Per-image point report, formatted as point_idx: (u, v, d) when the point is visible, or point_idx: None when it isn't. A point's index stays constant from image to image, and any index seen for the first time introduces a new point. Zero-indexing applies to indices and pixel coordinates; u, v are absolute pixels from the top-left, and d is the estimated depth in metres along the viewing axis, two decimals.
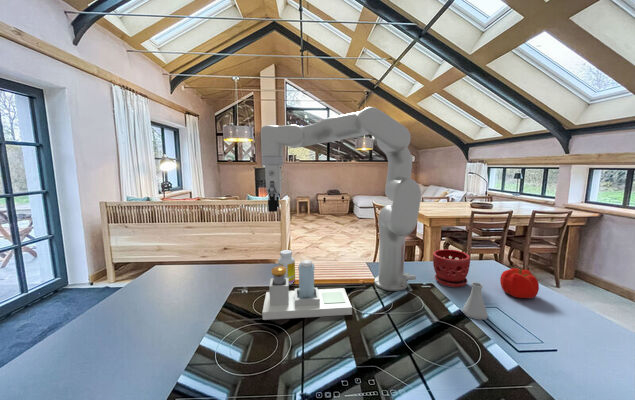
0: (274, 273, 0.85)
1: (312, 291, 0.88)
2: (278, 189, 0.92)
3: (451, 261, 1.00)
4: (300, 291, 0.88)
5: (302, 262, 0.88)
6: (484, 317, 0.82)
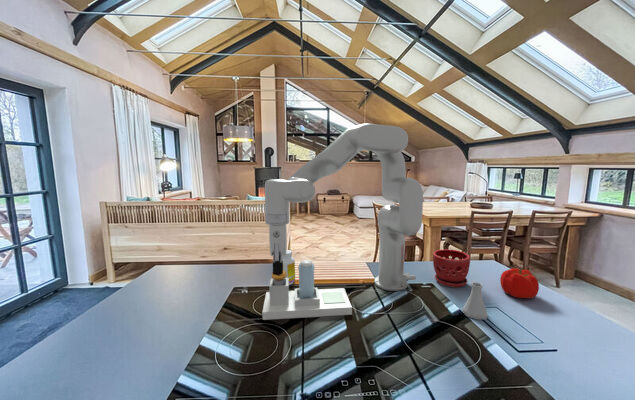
0: (274, 277, 0.85)
1: (312, 291, 0.88)
2: (283, 252, 0.81)
3: (451, 261, 1.00)
4: (300, 291, 0.88)
5: (302, 262, 0.88)
6: (484, 317, 0.82)
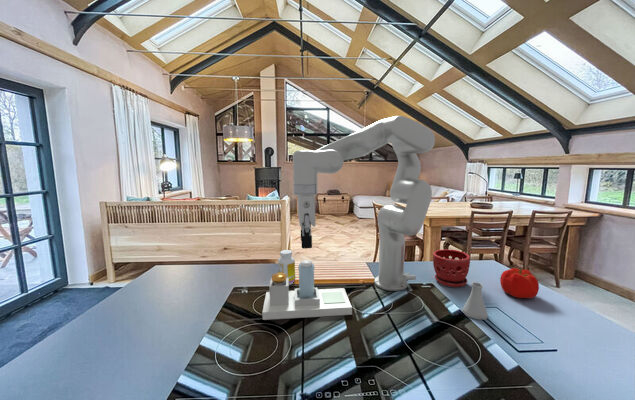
0: (274, 280, 0.86)
1: (312, 291, 0.88)
2: (313, 222, 0.81)
3: (451, 261, 1.00)
4: (300, 291, 0.88)
5: (302, 262, 0.88)
6: (484, 317, 0.82)
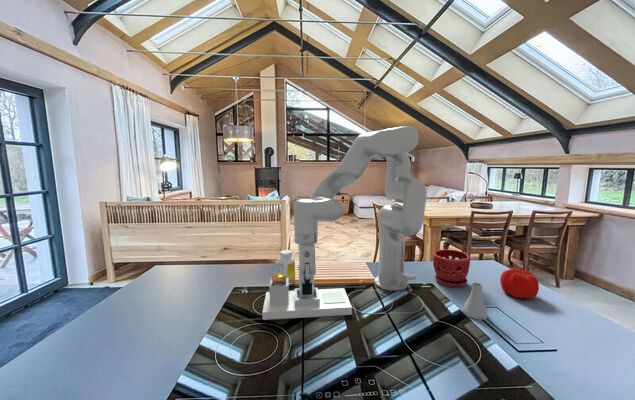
0: (274, 280, 0.86)
1: (312, 291, 0.88)
2: (313, 271, 0.83)
3: (451, 261, 1.00)
4: (300, 291, 0.88)
5: None
6: (484, 317, 0.82)
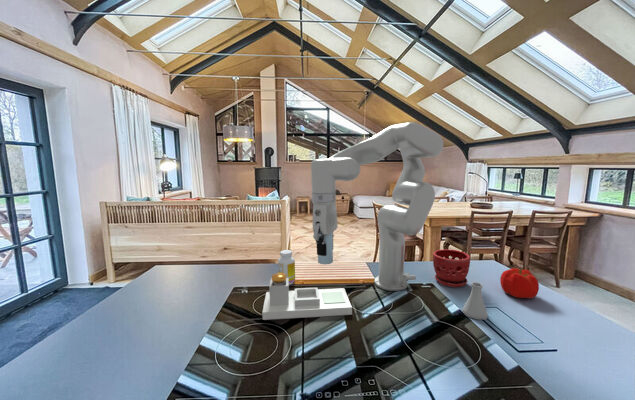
0: (274, 280, 0.86)
1: (328, 253, 0.86)
2: (324, 231, 0.81)
3: (451, 261, 1.00)
4: None
5: None
6: (484, 317, 0.82)
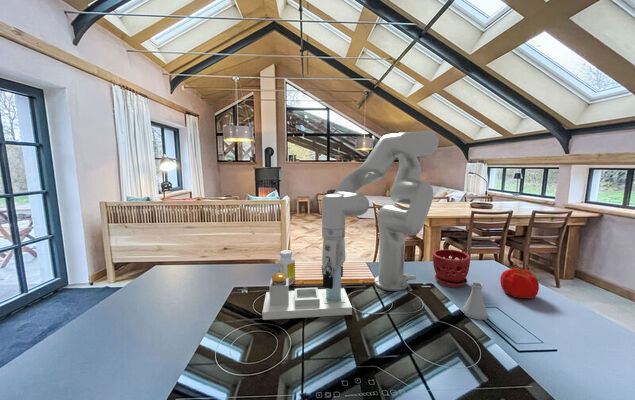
0: (274, 280, 0.86)
1: (337, 290, 0.88)
2: (333, 266, 0.83)
3: (451, 261, 1.00)
4: None
5: None
6: (484, 317, 0.82)
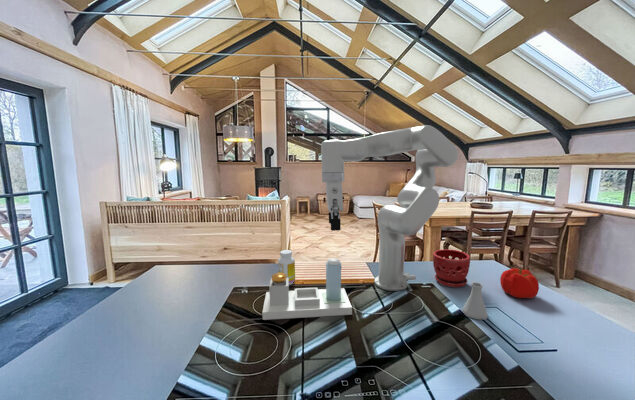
0: (274, 280, 0.86)
1: (337, 290, 0.88)
2: (341, 207, 0.87)
3: (451, 261, 1.00)
4: (326, 287, 0.90)
5: (329, 260, 0.89)
6: (484, 317, 0.82)
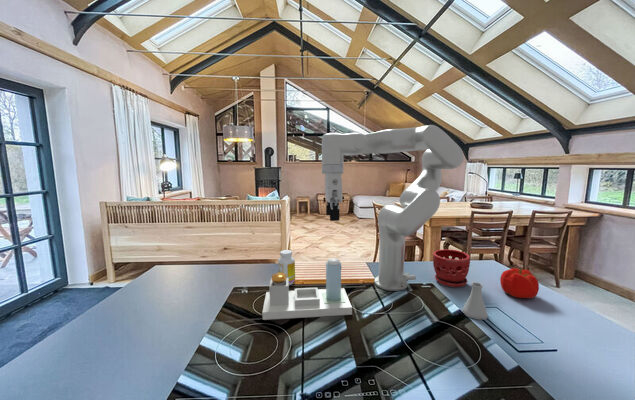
0: (274, 280, 0.86)
1: (337, 290, 0.88)
2: (340, 198, 0.90)
3: (451, 261, 1.00)
4: (326, 287, 0.90)
5: (329, 260, 0.89)
6: (484, 317, 0.82)
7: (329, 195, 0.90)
